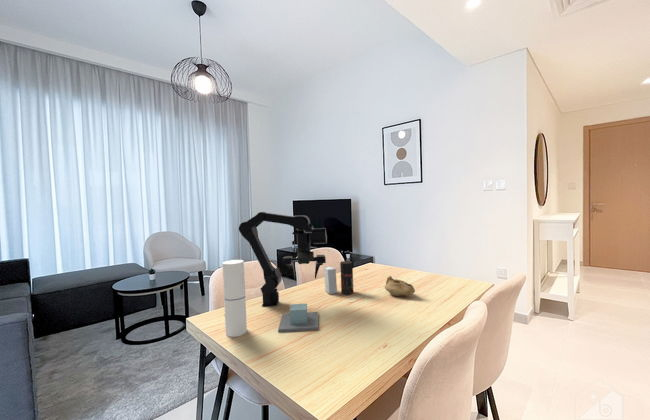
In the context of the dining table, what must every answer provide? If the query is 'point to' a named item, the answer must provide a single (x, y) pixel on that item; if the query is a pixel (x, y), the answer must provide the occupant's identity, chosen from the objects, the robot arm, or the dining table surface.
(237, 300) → the cylindrical container
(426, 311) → the dining table surface
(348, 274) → the deodorant
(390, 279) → the brown lumpy piece
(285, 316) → the post stand
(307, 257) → the robot arm
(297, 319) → the pale blue cube
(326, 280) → the skincare box
